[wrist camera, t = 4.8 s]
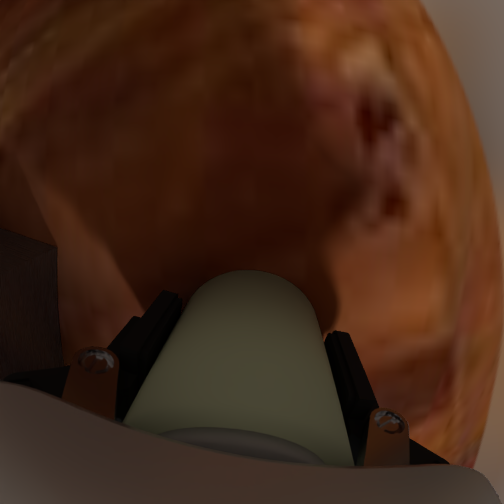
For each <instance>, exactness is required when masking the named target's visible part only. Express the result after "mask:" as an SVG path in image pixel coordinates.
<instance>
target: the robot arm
mask: <svg viewBox="0 0 504 504" xmlns="http://www.w3.org/2000/svg"><path fill="white" fill-rule="evenodd" d="M181 306H182V299H180V298H178V294H176V293H172V292H169V291H165V290H163V291H162V292H161V293H160V295H159V296H158V297H157V298H156V300H155V301H154V302H153V304H152V305H151V306H150V307H149V309H148V310H147V311H146V312H145V314H144V315H143V316H142V317H141V318H140V317H137V316H133V317H132V318H131V319H130V321H129V322H128V323H127V324H126V326H125V327H124V328H123V329H122V330H121V332H120V333H119V334H118V335H117V336H116V338H115V339H114V340H113V341H112V343H111V344H110V345H109V346H108V348H107V349H106V348H102V347H94V346H91V347H85V348H83V349H80V350H79V351H78V352H76V353H75V355H74V357H73V360H72V363H71V366H64V367H56V368H49V369H40V370H32V371H22V372H16V373H12V374H10V375H8V376H6V377H5V378H4V379H3V380H2V381H0V504H502V503H501V501H500V499H499V496H498V494H497V493H496V491H495V490H494V488H493V486H492V485H491V483H490V482H489V480H488V479H487V478H486V477H485V476H484V475H483V474H482V473H480V472H478V471H476V470H474V469H471V468H467V467H463V466H458V465H450V464H449V462H447V461H446V460H445V459H443V458H441V457H440V456H438V455H436V454H435V453H433V452H431V451H430V450H428V449H426V448H425V447H423V446H421V445H420V444H418V443H416V442H415V441H413V440H412V439H410V438H409V426H408V422H407V421H406V419H405V418H404V417H403V416H402V415H401V414H400V413H398V412H397V411H395V410H392V409H389V408H379V406H378V403H377V401H376V398H375V396H374V393H373V390H372V388H371V385H370V383H369V380H368V378H367V375H366V373H365V370H364V368H363V366H362V364H361V361H360V359H359V356H358V354H357V351H356V349H355V347H354V344H353V342H352V340H351V337H350V335H349V333H346V332H341V331H336V330H335V331H333V333H328V335H327V337H326V339H325V342H324V345H325V349H326V353H327V356H328V360H329V364H330V368H331V371H332V375H333V379H334V383H335V387H336V391H337V394H338V398H339V402H340V406H341V410H342V414H343V419H344V423H345V427H346V431H347V435H348V439H349V444H350V448H351V452H352V457H353V461H354V466H335V465H317V464H305V463H294V462H285V461H277V460H269V459H262V458H256V457H249V456H244V455H238V454H233V453H228V452H223V451H218V450H213V449H209V448H205V447H200V446H196V445H192V444H188V443H184V442H181V441H177V440H173V439H170V438H166V437H163V436H160V435H156V434H153V433H150V432H147V431H144V430H141V429H138V428H135V427H132V426H129V425H126V424H124V423H122V422H123V420H124V418H125V416H126V414H127V413H128V411H129V409H130V407H131V405H132V403H133V401H134V399H135V397H136V396H137V394H138V392H139V390H140V388H141V386H142V384H143V383H144V381H145V379H146V377H147V375H148V373H149V371H150V370H151V368H152V366H153V364H154V362H155V360H156V359H157V357H158V355H159V353H160V351H161V350H162V348H163V346H164V344H165V342H166V341H167V339H168V337H169V335H170V333H171V332H172V330H173V328H174V326H175V324H176V323H177V321H178V319H179V317H180V312H181Z"/></svg>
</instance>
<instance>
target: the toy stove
mask: <svg viewBox="0 0 504 504" xmlns="http://www.w3.org/2000/svg"><path fill="white" fill-rule="evenodd" d="M56 367H64V363H63V356H62V348H61V339H60V328H59V315H58V298H57V247H55V246H52V245H49V244H46V243H43V242H40V241H37V240H34V239H31V238H28V237H25V236H22V235H19V234H16V233H13V232H10V231H8V230H5V229H2V228H0V381H2V380H3V379H4V378H5V377H6V376H8V375H10V374H12V373H16V372H22V371H32V370H40V369H49V368H56Z"/></svg>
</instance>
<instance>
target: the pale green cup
mask: <svg viewBox="0 0 504 504" xmlns="http://www.w3.org/2000/svg"><path fill="white" fill-rule="evenodd" d="M122 423H124V424H126V425H129V426H132V427H135V428H138V429H141V430H144V431H147V432H150V433H153V434H156V435H160V436H163V437H166V438H170V439H173V440H177V441H181V442H184V443H188V444H192V445H196V446H200V447H205V448H209V449H213V450H218V451H223V452H228V453H233V454H238V455H244V456H249V457H256V458H262V459H269V460H277V461H285V462H294V463H305V464H317V465H335V466H354V461H353V457H352V452H351V448H350V444H349V439H348V435H347V431H346V427H345V423H344V419H343V414H342V410H341V406H340V402H339V398H338V394H337V391H336V387H335V383H334V379H333V375H332V371H331V368H330V364H329V360H328V356H327V353H326V349H325V345H324V342H323V338H322V335H321V331H320V327H319V324H318V320H317V317H316V314H315V311H314V309H313V307H312V305H311V303H310V301H309V300H308V298H307V297H306V296H305V295H304V294H303V293H302V291H301V290H300V289H298V288H297V287H296V286H295V285H293V284H292V283H290V282H289V281H287V280H286V279H284V278H281V277H279V276H277V275H274V274H271V273H268V272H263V271H257V270H238V271H233V272H228V273H225V274H222V275H219V276H217V277H215V278H213V279H210V280H209V281H208V282H206V283H205V284H203V285H202V286H201V287H200V288H199V289H198V290H197V291H196V292H195V293H194V294H193V295H192V297H191V298H190V300H189V302H188V303H187V305H186V307H185V309H184V310H183V312H182V314H181V316H180V317H179V319H178V321H177V323H176V324H175V326H174V328H173V330H172V332H171V333H170V335H169V337H168V339H167V341H166V342H165V344H164V346H163V348H162V350H161V351H160V353H159V355H158V357H157V359H156V360H155V362H154V364H153V366H152V368H151V370H150V371H149V373H148V375H147V377H146V379H145V381H144V383H143V384H142V386H141V388H140V390H139V392H138V394H137V396H136V397H135V399H134V401H133V403H132V405H131V407H130V409H129V411H128V413H127V414H126V416H125V418H124V420H123V422H122Z"/></svg>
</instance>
